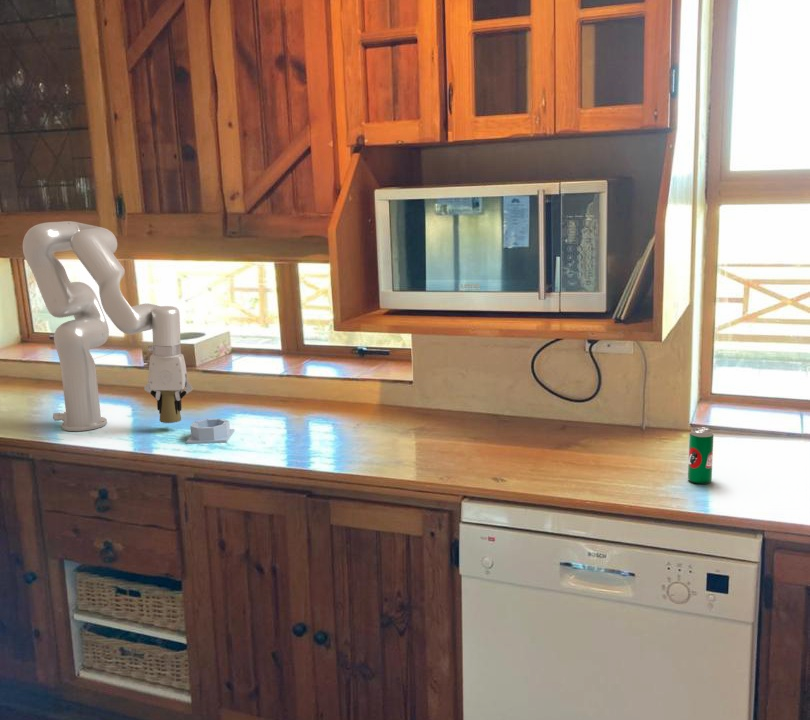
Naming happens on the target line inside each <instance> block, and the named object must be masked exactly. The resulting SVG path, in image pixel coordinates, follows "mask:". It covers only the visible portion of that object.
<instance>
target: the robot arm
mask: <svg viewBox="0 0 810 720" xmlns="http://www.w3.org/2000/svg"><path fill="white" fill-rule="evenodd" d="M117 248H118V240H117V237H116V236H115V234H114V233H113V232H112V231H111V230H109V229H107V228H105V227H101V226H96V225H92V224H88V223H87V224H86V223H81V222H78V221H71V220H70V221H68V220H67V221H66V220H65V221H50V222H49V221H48V222H42V223H38V224H36V225H33V226H32V227H30V228H29V229H28V230H27V232H26V233H25V235H24V237H23V241H22V251H23V256H24V258H25V261H26V263H27V266H28V267H29V269H30V270H31V273H32V274H33V277H34V279H35V283H36V285H37V288H38V290H39V293H40V295H41V297H42V299H43V302H44V305H45V307H46V309H47V312H48V313H49V314H50V315H51V316H52V317H55V318H59V319H60V318H61V319H63V318H67V317H72V316H73V317H74V319H71V320H67V321H65V322H63V323H61V324H60V325H58V327H57V328H56V329H55V331H54V335H53V341H54V346H55V349H56V353H57V356H58V360H59V365H60V373H61V374H60V375H61V379H62V380H61V382H62V390H63V398H64V405H65V407H64V408H65V411H64V412H62V413H61V412H53V414H52V418H53V420H54V421H62V423H61V429H62V430H63V431H69V432H82V431H90V430H91V431H92V430H95V429H99V428H102V427H104V426H106V425H107V424H108V420H107V418H106V417H103V416H101V415H102V414H101V407H100V395H99V386H98V376H97V369H96V363H95V360H94V358H93V355H92V354H91V352H90V350H92V349H95V348H98V347H99V348H100V347H101V346H103V345H104V344H105V343H106V342H107V341H108V340H109V336H110V329H109V325H108V322H107V319H106V317H105V315H104V313H105V314H106V315H107V317H108V318H109V319H110V321H111V322H112V323H113V325H114V326H115V327H116V328H117V329H118V330H119V331H120V332H122V333H124V334H125V335H135V334H140V333H142V332H146V331H150V330H152V345H149V346H147V349H148V352H149V351H150V352H152V354H151V355H150V356H149V357H150V358H149V363H148V380H147V383H146V384H145V385H144V387H143V388H144V389H143V390H144V391H145V392H147V393H148V394H150V395H151V396H153V398H155V400H156V405H157V411H159V412H158V413H159V415H160V414H161V408H162V394H161V392H160V391H175V396H176V401H175V402H174V403H175V410H176V414H177V411H180V412H181V411H182V408H183V407H182V398H183V399H184V397H185V396H186V395H187V394H189V393H191V392H192V391H193V390H194V387H193V386H192V384H191V382H190V381H189V380H188V374H187V373H188V371H187V365H186V361H185V357H184V354H183V353H182V348H181V347H182V346H181V321H180V320H181V318H180V317H181V316H180V310H179V308H177V307H176V306H170V305H165V306H163V305H162V306H160V305H156V304H153V303H142V304H137V305H133V306H131V305H130V304H129V302H128V301H127V300H126V298H125V296H124V294H123V293H122V291H121V286H120V285H121V280H122V279H123V277H124V276H125V273H126V272H125V271H126V270H125V268H124V267H123V265H122V263H120V261H119V260H118V258H117V257H116V256H115V254H114V253H116V251H117ZM67 251H72V252H73V253H74V254H75V256H76V257H77V259H78V260H79V261H80V263H81V264H82V265H83V267H84V268H85V269H86V271H87V272H88V274H89V275H90V276H91V277H92V279H93V280H94V281H95V283H96V284H97V285H98V288H99V289H98V290H99V291H98V292H99V298H100V301H99V299H98V297H97V294H96V293H95V291H94V290H93V289H92V288H91V286H90V285H88V284H87V283H84V282H82V281H73V282H71V280H70V279H69V277H68V274H67V271H66V268H65V266H64V265H63V264H62V262H61V261H60V260H59V259H58V258H57V257H56V256H55V253H57V252H60V253H61V252H67ZM100 303H101V304H100ZM103 311H104V312H103Z"/></svg>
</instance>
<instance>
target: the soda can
mask: <svg viewBox="0 0 810 720" xmlns="http://www.w3.org/2000/svg"><path fill="white" fill-rule="evenodd" d="M688 437H689V439H688V461H687V462H688V463H687V465H688V466H687V479H688V481H689V482H690V483H693V484H696V485H706V484H710V483H711V481H712V480H713V478H712V476H713V457H714V456H713V454H714V453H713V452H714V433H713V430H712V429H710V428H709V427H702V426H701V427H699V426H697V427H695V426H694V427H693V428H691V431H690V432H689V436H688Z"/></svg>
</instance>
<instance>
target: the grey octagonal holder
mask: <svg viewBox="0 0 810 720" xmlns="http://www.w3.org/2000/svg"><path fill="white" fill-rule="evenodd" d="M234 432H235V428H230V420H228V419H224V418H204V419H201V420H196V421H193V422H192V424H190V437H188V438H187V440H186V441H185V442H186V444H188V445H189V444H213V443H214V444H215V443H216V444H217V443H221V444H222V443H228V442H229V440H230V438H231V437H232V436H233V434H234Z"/></svg>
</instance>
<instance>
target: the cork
mask: <svg viewBox="0 0 810 720" xmlns="http://www.w3.org/2000/svg"><path fill="white" fill-rule="evenodd" d="M160 392H161V394H162V408H161V414H159V422H160V423H163V424H175V423H179V422H180V421H182V416H181V411H177V414H176V410H175V403H174V402H175V401H176V396H175V391H160Z"/></svg>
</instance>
